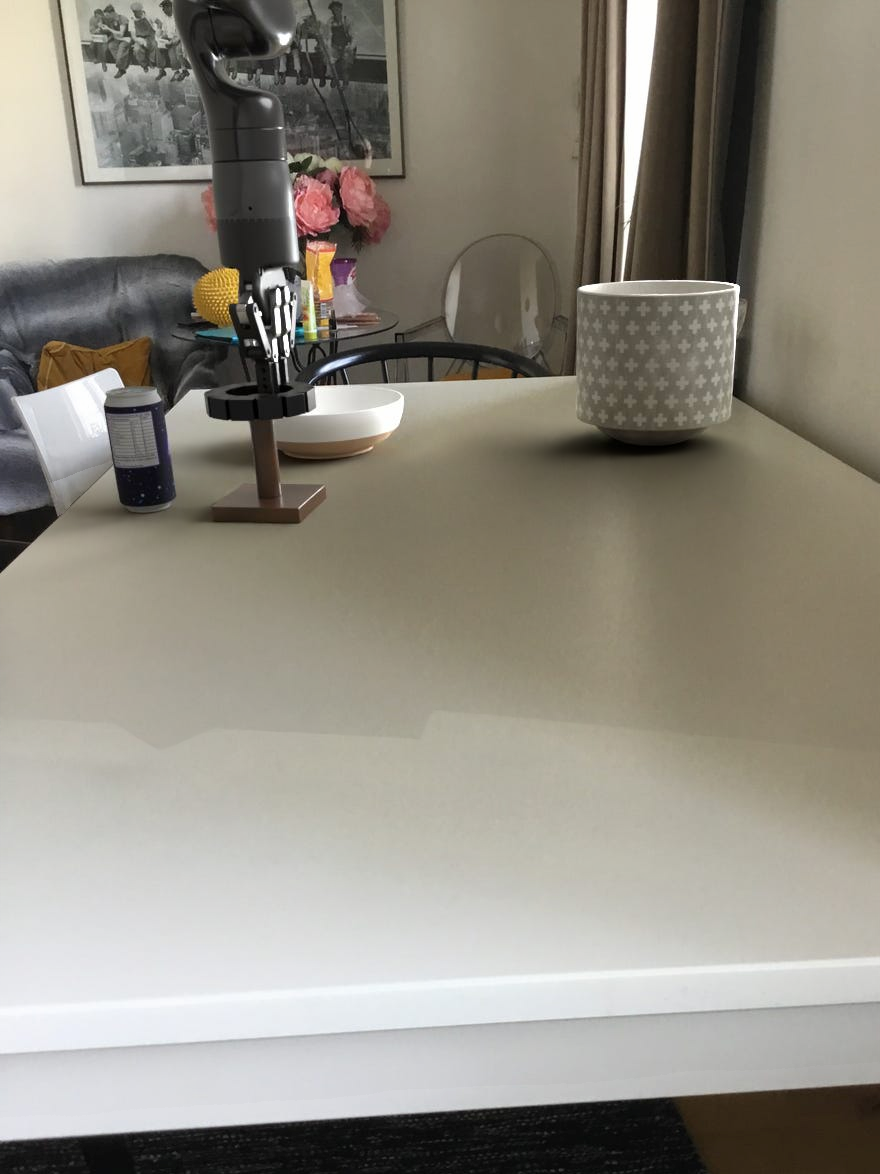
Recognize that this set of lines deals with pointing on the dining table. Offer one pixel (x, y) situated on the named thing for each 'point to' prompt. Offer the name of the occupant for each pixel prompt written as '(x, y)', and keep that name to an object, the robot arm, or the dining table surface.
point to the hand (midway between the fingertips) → (274, 397)
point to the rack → (268, 487)
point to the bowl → (340, 423)
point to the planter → (655, 358)
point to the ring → (259, 402)
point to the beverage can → (140, 448)
